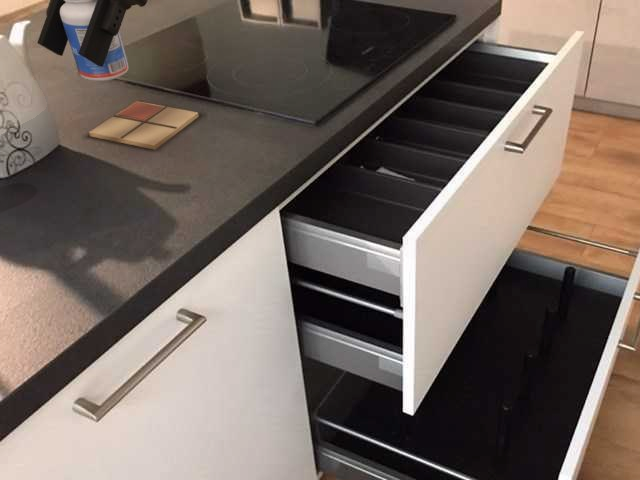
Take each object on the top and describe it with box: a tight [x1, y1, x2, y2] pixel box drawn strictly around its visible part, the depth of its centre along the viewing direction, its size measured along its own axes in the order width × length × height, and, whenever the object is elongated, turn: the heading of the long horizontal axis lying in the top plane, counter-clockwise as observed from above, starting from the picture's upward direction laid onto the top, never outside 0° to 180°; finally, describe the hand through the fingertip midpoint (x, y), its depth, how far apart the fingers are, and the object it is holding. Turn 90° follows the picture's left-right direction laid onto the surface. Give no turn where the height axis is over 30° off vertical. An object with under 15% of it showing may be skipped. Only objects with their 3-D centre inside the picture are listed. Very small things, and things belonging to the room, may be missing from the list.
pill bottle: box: [60, 0, 129, 82], centre depth 72 cm, size 6×5×10 cm
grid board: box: [88, 100, 200, 150], centre depth 88 cm, size 10×10×1 cm
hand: (70, 54), depth 71 cm, fingers closed on pill bottle, 5 cm apart
